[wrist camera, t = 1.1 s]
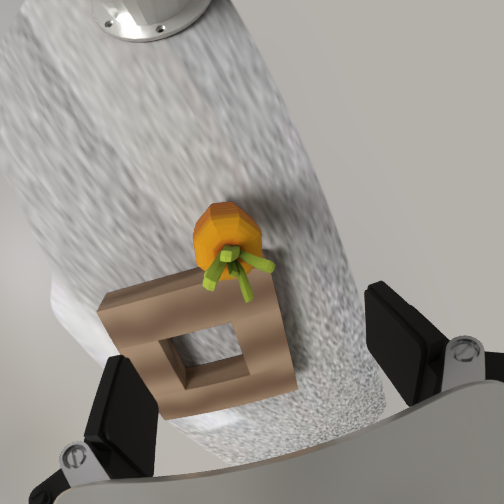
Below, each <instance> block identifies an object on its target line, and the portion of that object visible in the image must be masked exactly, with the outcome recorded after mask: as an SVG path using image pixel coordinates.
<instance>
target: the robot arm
mask: <svg viewBox="0 0 504 504" xmlns="http://www.w3.org/2000/svg"><path fill="white" fill-rule="evenodd" d="M210 3H211V0H92V14H93V17H94V19H95V21H96V23H97V24H98V26H99V27H100V28H101V29H102V30H103V31H104V32H106V33H107V34H109V35H110V36H112V37H114V38H117V39H119V40H123V41H129V42H147V41H155V40H158V39H162V38H166V37H168V36H171V35H173V34H176V33H178V32H180V31H181V30H183V29H185V28H187V27H188V26H190V25H191V24H192V23H193V22H195V21H196V20H197V19H198V18H199V17H200V16H201V15H202V14H203V13H204V12H205V11H206V9H207V7H208V6H209V4H210ZM110 25H112V26H111V27H109V26H110ZM160 30H164V31H163V32H162V33H159V31H160ZM364 298H365V317H366V344H367V347H368V350H369V351H370V353H371V354H372V356H373V357H374V358H375V360H376V361H377V363H378V364H379V365H380V367H381V368H382V370H383V371H384V372H385V374H386V375H387V377H388V378H389V379H390V381H391V382H392V384H393V385H394V386H395V388H396V389H397V391H398V392H399V394H400V395H401V397H402V398H403V399H404V401H405V402H406V404H407V405H408V406H409V407H410V408H407V409H405V410H403V411H401V412H399V413H397V414H394V415H392V416H390V417H388V418H386V419H383V420H381V421H379V422H376V423H374V424H372V425H369V426H367V427H365V428H362V429H360V430H357V431H355V432H352V433H349V434H347V435H344V436H341V437H339V438H336V439H333V440H330V441H327V442H324V443H321V444H318V445H315V446H312V447H309V448H306V449H303V450H299V451H296V452H292V453H289V454H285V455H282V456H278V457H274V458H270V459H266V460H262V461H258V462H253V463H249V464H244V465H239V466H234V467H228V468H224V469H217V470H211V471H205V472H197V473H189V474H181V475H171V476H161V477H160V476H159V477H153V475H154V462H155V445H156V434H157V423H158V413H159V407H158V403H157V401H156V400H155V398H154V397H153V395H152V394H151V392H150V391H149V389H148V388H147V386H146V384H145V383H144V381H143V380H142V378H141V377H140V375H139V373H138V372H137V370H136V369H135V367H134V365H133V364H132V362H131V360H130V359H129V358H128V357H125V356H124V355H117V356H112V357H109V358H108V360H107V363H106V366H105V369H104V372H103V375H102V378H101V381H100V384H99V387H98V390H97V393H96V396H95V399H94V402H93V406H92V409H91V412H90V416H89V419H88V423H87V426H86V429H85V433H84V437H85V439H84V442H82V441H75V442H72V443H70V444H68V445H67V446H66V447H65V448H64V449H63V450H62V452H61V454H60V457H59V462H60V466H61V469H59V470H58V471H57V472H55V473H54V474H53V475H52V476H50V477H49V478H48V479H46V480H45V481H44V482H42V483H41V484H40V485H38V486H37V487H36V488H35V489H34V490H33V491H32V492H31V494H30V497H29V504H504V353H497V352H485V351H484V347H483V345H482V343H481V342H480V341H479V340H477V339H476V338H474V337H471V336H459V337H455V338H453V339H452V340H449V339H448V338H446V336H445V335H443V334H442V333H441V332H440V331H439V330H438V329H437V328H436V327H435V326H434V325H433V324H432V323H431V322H430V321H429V320H428V319H426V318H425V317H424V316H423V315H422V314H421V313H420V312H419V311H418V310H417V309H415V308H414V307H413V306H412V305H409V304H408V303H407V302H406V301H405V300H404V299H403V298H402V297H400V296H399V295H398V294H397V293H396V292H395V291H394V290H393V289H391V288H390V287H389V286H388V285H387V284H386V283H385V282H383V281H379V282H376V283H373V284H370V285H369V286H368V289H367V290H365V292H364Z"/></svg>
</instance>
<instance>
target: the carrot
mask: <svg viewBox="0 0 504 504" xmlns="http://www.w3.org/2000/svg"><path fill="white" fill-rule="evenodd" d="M193 242H194V249H195V256H196V262H197V265H198V267H200V268H201V269H203V270H204V271H206V272H205V274H204V280H203V287H205V288H206V289H207V290H210V291H214V289H215V287H216V285H217V283H218V281H223V280H231V279H238V280H239V284H240V288H241V291H242V294H243V297H244V300H245V302H246V303H248V302H251V300H252V299H253V298H254V295H253V291H252V288H251V286H250V283H249V280H248V277H247V275H248V274H249V273H250V271H251V270H252V269H253V268H254V267H255V268H257V269H259V270H261V271H264V272H267V273H272V272H273V271H274V269H275V266H276V265H275V264H274V263H273V262H272V261H270V260H267V259H264V258H262V242H261V230H260V228H259V226H258V225H257V224H256V222H255V221H254V220H253V219H252V218H251V217H250V216H249V215H248V214H247V213H246V212H244V211H243V210H242V209H241V208H239V207H238V206H237V205H236V204H234V203H233V202H221V203H213V204H211V205H210V206H209V208H208V209H207V210H206V211H205V213H204V214H203V215H202V216H201V218H200V219H199V220H198V221H197V223H196V225H195V229H194V233H193Z"/></svg>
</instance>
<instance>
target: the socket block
mask: <svg viewBox="0 0 504 504" xmlns="http://www.w3.org/2000/svg"><path fill="white" fill-rule="evenodd" d="M262 258H264V259H266V258H265V256H264V254H263V252H262ZM205 272H206V271H204V270H203V269H201V268H200V267H197V268H194V269H190V270H187V271H183V272H180V273H176V274H173V275H169V276H166V277H162V278H159V279H155V280H152V281H148V282H145V283H141V284H138V285H134V286H131V287H127V288H124V289H120V290H117V291H113V292H110V293H106V295H105V297H104V299H103V301H102V303H101V304H100V306H99V308H98V310H97V314H98V316H99V318H100V320H101V322H102V323H103V325H104V327H105V329H106V331H107V332H108V334H109V336H110V338H111V339H112V341H113V343H114V345H115V346H116V348H117V350H118V351H119V353H120V355H124V356H125V357H128V358H129V359H130V360H131V362H132V364H133V365H134V367H135V369H136V370H137V372H138V373H139V375H140V377H141V378H142V380H143V381H144V383H145V384H146V386H147V388H148V389H149V391H150V392H151V394H152V395H153V397H154V398H155V400H156V401H157V403H158V407H159V413H160V414H161V416H162V417H163V418H164V420H170V419H176V418H182V417H188V416H193V415H198V414H203V413H208V412H213V411H218V410H223V409H227V408H231V407H236V406H240V405H244V404H248V403H252V402H256V401H259V400H263V399H267V398H270V397H274V396H277V395H281V394H284V393H287V392H291V391H294V390H297V389H298V386H297V381H296V377H295V373H294V368H293V364H292V360H291V355H290V351H289V347H288V342H287V338H286V334H285V330H284V325H283V321H282V317H281V313H280V308H279V304H278V300H277V296H276V292H275V288H274V283H273V279H272V275H271V273H267V272H264V271H261V270H259V269H257V268H255V267H254V268H253V269H252V270H251V271H250V273H249V274H248V275H247V277H248V280H249V283H250V286H251V288H252V291H253V295H254V298H253V299H252V300H251V302H248V303H246V302H245V300H244V297H243V294H242V291H241V288H240V284H239V280H238V279H231V280H223V281H218V283H217V285H216V287H215V289H214V291H210V290H207V289H206V288H205V287H203V280H204V274H205ZM229 322H232V325H233V328H234V331H235V334H236V336H237V339H238V342H239V345H240V348H241V350H242V353H243V354H242V355H239V356H235V357H231V358H227V359H223V360H219V361H215V362H211V363H207V364H203V365H199V366H194V367H190V368H186V367H185V366H184V364H183V362H182V360H181V358H180V356H179V354H178V352H177V350H176V348H175V346H174V344H173V342H172V340H171V337H175V336H179V335H183V334H187V333H191V332H195V331H199V330H203V329H207V328H210V327H214V326H218V325H222V324H225V323H229Z"/></svg>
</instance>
